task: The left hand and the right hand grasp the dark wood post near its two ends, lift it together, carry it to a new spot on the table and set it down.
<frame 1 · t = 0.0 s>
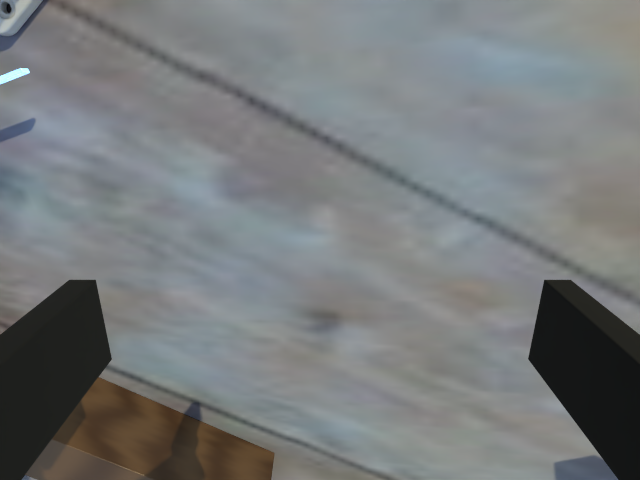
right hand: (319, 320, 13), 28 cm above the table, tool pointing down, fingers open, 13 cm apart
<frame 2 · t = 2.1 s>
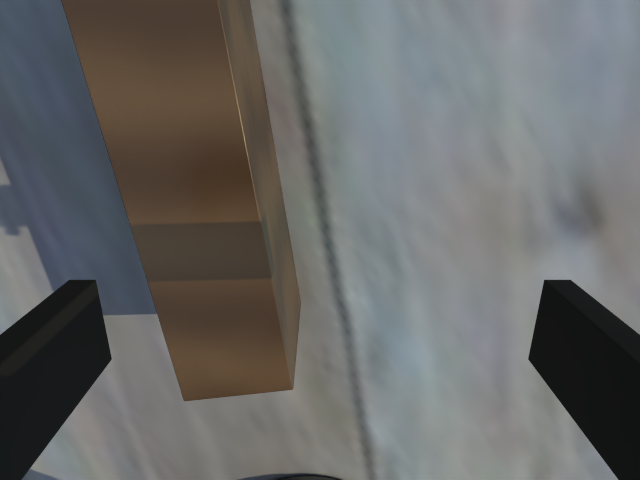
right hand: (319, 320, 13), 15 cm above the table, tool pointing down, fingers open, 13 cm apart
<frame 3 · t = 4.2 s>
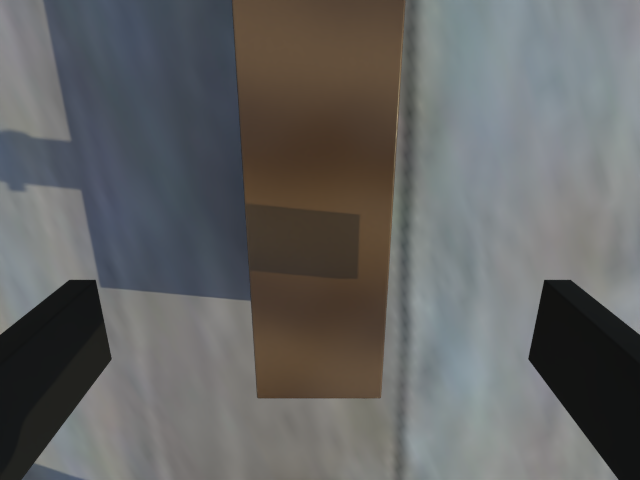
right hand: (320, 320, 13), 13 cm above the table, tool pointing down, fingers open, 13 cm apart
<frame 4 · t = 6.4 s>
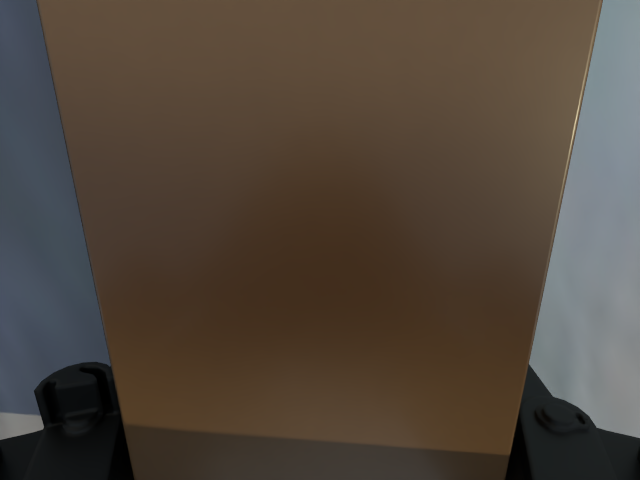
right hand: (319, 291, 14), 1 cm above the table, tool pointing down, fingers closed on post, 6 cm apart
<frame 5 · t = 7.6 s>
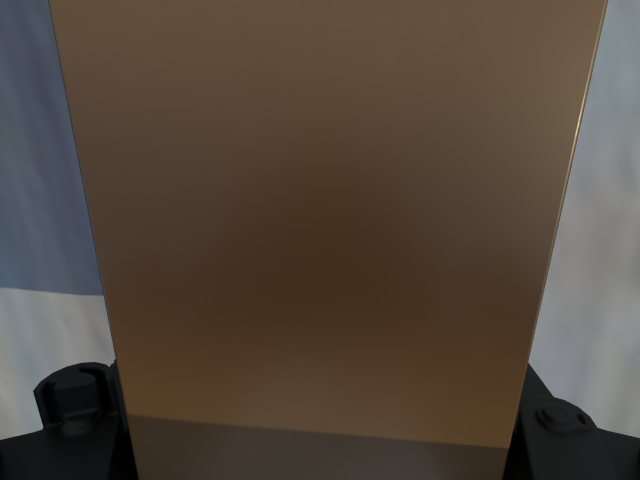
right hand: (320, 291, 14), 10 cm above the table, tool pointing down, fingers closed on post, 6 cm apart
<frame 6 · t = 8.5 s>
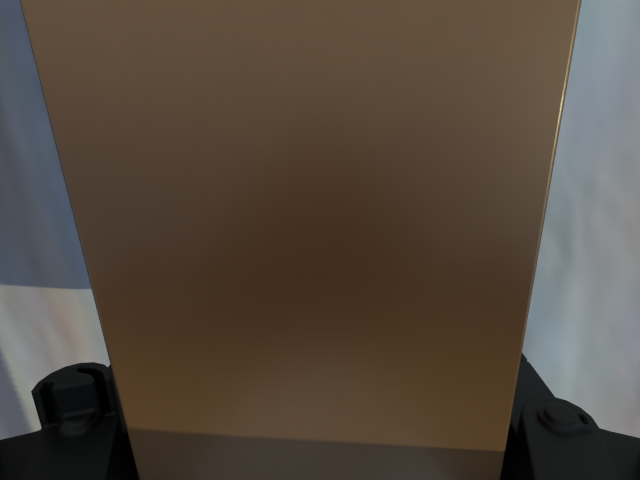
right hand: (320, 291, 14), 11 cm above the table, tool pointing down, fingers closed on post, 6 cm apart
when the right hand's fingers open (2 cm above the table, at t = 11.0 s): post stays where it is, on the table.
when the left hand's fingers open (4 cm above the table, at t = 11.2 s): post stays where it is, on the table.
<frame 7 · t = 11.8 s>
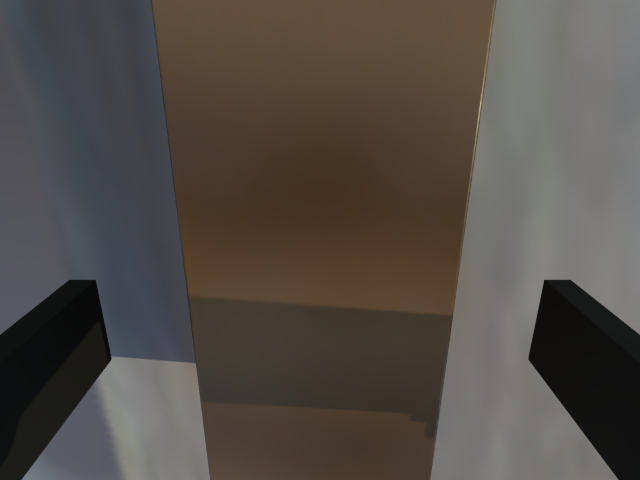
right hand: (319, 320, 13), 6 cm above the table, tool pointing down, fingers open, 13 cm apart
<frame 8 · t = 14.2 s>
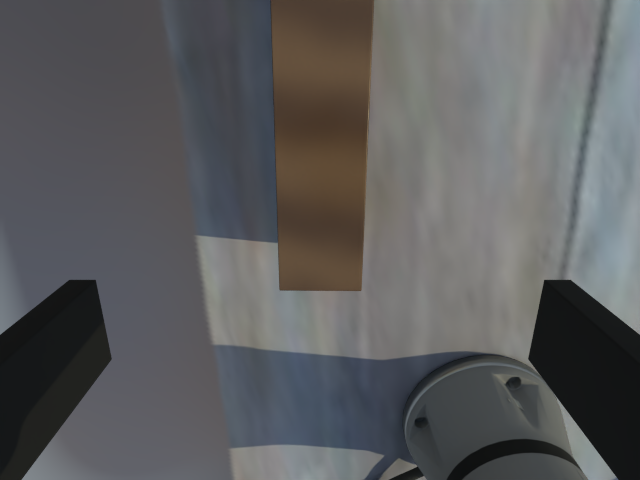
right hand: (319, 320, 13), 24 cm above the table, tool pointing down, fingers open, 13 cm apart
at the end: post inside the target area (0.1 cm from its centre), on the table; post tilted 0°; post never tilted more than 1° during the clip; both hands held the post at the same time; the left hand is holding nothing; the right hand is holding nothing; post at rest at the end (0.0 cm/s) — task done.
